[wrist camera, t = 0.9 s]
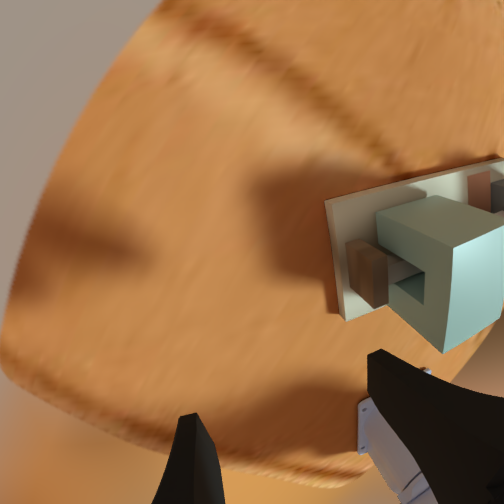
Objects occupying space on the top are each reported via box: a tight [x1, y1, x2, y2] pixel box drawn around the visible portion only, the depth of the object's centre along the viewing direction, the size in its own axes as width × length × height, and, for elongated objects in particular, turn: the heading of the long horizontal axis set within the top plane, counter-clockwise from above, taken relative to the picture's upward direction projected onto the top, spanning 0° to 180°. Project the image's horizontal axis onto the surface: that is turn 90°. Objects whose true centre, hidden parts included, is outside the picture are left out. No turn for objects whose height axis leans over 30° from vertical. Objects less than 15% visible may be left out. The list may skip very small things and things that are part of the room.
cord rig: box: [324, 158, 504, 322], centre depth 18 cm, size 8×18×6 cm, turn 103°
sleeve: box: [375, 195, 504, 354], centre depth 16 cm, size 6×5×6 cm
